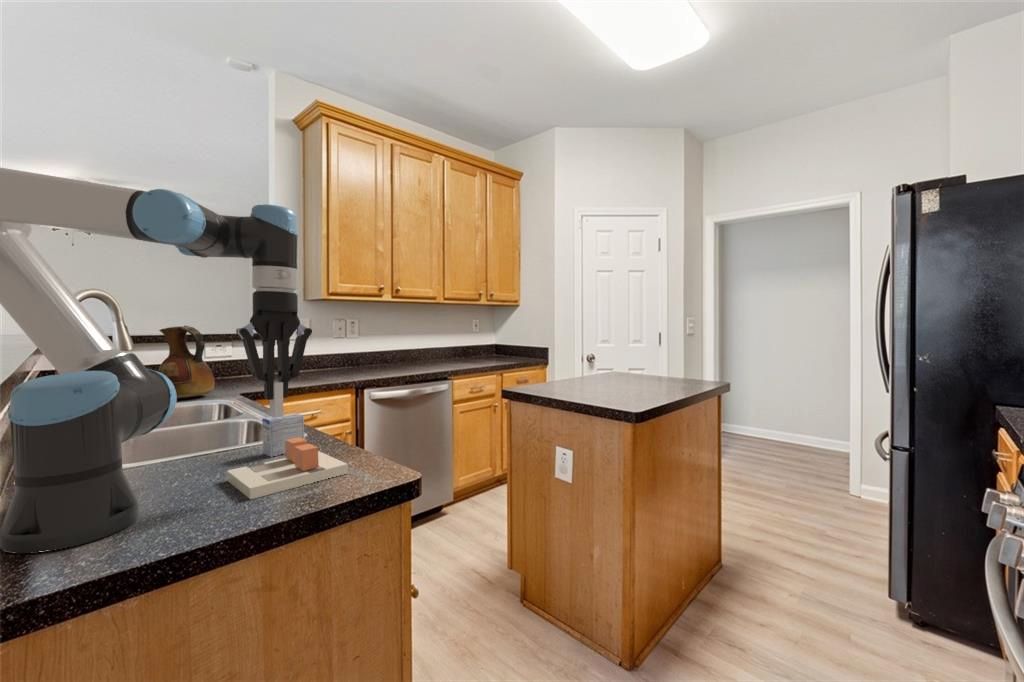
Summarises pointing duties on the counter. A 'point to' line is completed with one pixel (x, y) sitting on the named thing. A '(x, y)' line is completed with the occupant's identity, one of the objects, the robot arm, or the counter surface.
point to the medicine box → (281, 432)
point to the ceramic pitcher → (186, 363)
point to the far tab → (290, 447)
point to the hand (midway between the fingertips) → (276, 415)
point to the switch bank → (282, 475)
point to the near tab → (306, 457)
